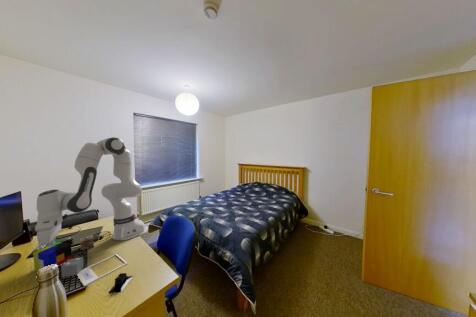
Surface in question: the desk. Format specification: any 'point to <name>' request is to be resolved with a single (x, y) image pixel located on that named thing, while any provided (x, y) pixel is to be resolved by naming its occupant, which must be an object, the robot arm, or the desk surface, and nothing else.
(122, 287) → the black irregular block
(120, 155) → the robot arm
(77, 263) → the grey block
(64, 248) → the puzzle toy
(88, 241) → the walnut block
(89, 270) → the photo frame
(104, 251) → the desk surface
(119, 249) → the desk surface
